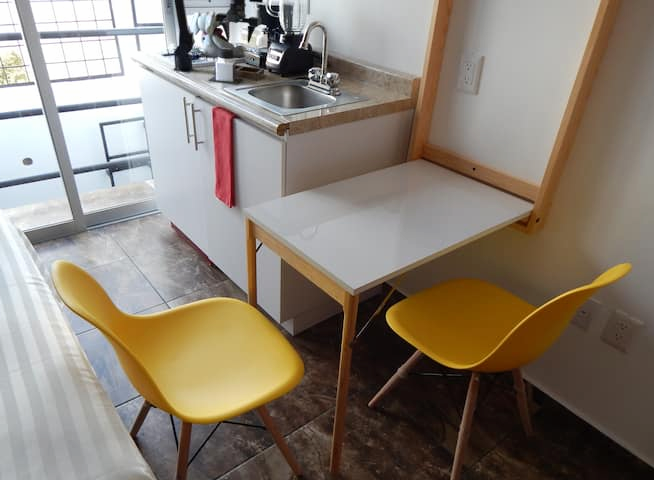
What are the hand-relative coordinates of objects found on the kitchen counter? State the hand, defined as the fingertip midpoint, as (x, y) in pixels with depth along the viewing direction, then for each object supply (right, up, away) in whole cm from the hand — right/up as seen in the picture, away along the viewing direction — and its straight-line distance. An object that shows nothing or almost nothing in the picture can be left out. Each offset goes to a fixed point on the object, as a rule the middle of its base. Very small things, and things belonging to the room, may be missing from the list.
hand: (238, 41), depth 210 cm
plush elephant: (-18, +10, +35) cm, 41 cm away
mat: (-4, -19, -5) cm, 20 cm away
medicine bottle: (-4, -19, -5) cm, 20 cm away
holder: (0, -13, +4) cm, 14 cm away
